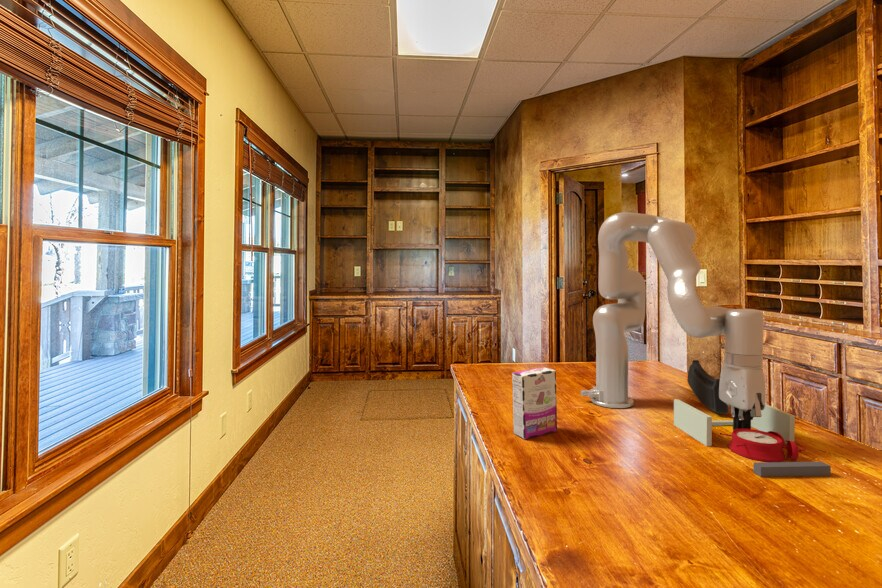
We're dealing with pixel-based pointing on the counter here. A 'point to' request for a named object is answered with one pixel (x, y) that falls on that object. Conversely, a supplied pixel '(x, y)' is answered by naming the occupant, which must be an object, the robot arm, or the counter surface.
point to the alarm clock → (762, 445)
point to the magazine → (706, 388)
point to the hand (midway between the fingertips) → (741, 434)
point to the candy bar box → (534, 402)
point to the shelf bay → (731, 422)
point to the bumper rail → (791, 469)
